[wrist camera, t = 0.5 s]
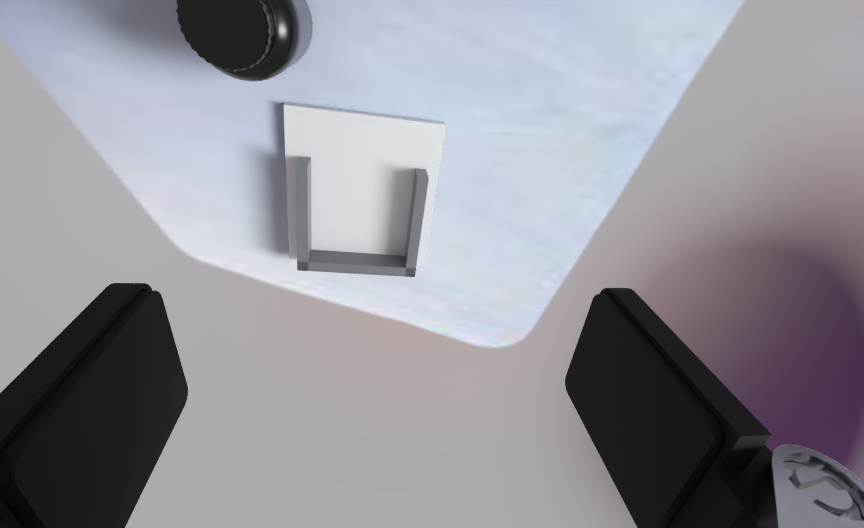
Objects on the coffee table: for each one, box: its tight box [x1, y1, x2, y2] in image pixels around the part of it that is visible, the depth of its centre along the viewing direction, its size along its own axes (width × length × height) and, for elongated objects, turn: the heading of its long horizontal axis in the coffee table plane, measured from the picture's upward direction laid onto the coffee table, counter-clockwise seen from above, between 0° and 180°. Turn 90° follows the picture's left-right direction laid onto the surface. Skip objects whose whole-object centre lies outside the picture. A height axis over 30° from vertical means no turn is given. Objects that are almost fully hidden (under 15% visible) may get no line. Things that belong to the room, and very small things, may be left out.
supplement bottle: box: [176, 0, 312, 81], centre depth 27 cm, size 7×7×12 cm
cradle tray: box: [284, 103, 446, 277], centre depth 39 cm, size 15×14×4 cm
